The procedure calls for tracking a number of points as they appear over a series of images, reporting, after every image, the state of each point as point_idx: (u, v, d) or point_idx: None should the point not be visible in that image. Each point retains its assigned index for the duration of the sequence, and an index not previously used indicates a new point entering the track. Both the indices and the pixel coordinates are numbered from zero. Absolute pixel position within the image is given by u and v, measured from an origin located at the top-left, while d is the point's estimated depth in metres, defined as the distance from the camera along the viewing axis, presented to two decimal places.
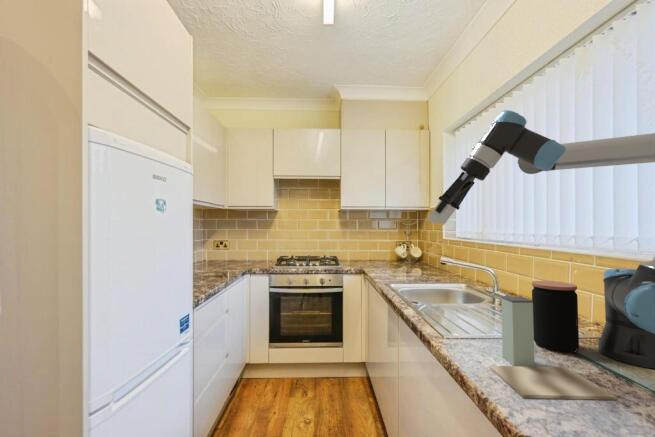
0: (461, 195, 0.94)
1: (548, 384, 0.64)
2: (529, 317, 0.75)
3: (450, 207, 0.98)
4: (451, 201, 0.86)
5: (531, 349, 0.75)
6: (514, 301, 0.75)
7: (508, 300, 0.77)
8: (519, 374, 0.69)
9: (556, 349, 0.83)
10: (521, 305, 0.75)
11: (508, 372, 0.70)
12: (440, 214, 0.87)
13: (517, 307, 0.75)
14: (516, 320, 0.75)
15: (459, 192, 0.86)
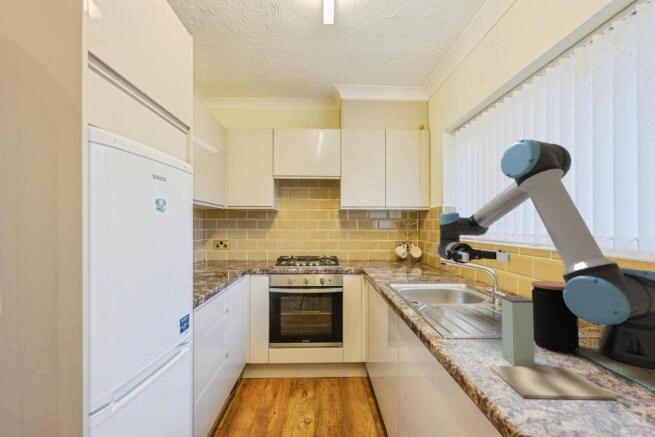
0: (482, 252, 1.03)
1: (548, 384, 0.64)
2: (529, 317, 0.75)
3: (497, 256, 0.98)
4: (457, 251, 1.00)
5: (531, 349, 0.75)
6: (514, 301, 0.75)
7: (508, 300, 0.77)
8: (519, 374, 0.69)
9: (556, 349, 0.83)
10: (521, 305, 0.75)
11: (508, 372, 0.70)
12: (462, 253, 0.96)
13: (517, 307, 0.75)
14: (516, 320, 0.75)
15: (457, 251, 1.04)
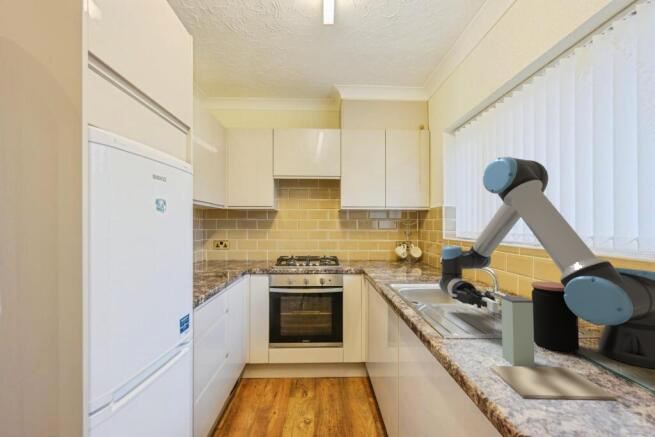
0: (477, 295, 1.00)
1: (548, 384, 0.64)
2: (529, 317, 0.75)
3: None
4: (478, 296, 0.96)
5: (531, 349, 0.75)
6: (514, 301, 0.75)
7: (508, 300, 0.77)
8: (519, 374, 0.69)
9: (556, 350, 0.83)
10: (521, 305, 0.75)
11: (508, 372, 0.70)
12: (487, 301, 0.91)
13: (517, 307, 0.75)
14: (516, 320, 0.75)
15: (470, 294, 1.00)
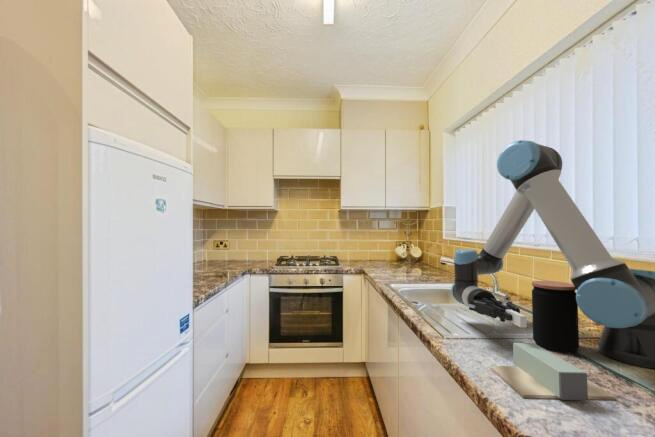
0: (499, 306, 0.87)
1: None
2: None
3: None
4: (500, 308, 0.83)
5: None
6: None
7: (559, 389, 0.59)
8: (519, 374, 0.69)
9: (556, 349, 0.83)
10: None
11: (508, 372, 0.70)
12: (512, 314, 0.78)
13: None
14: None
15: (491, 304, 0.86)
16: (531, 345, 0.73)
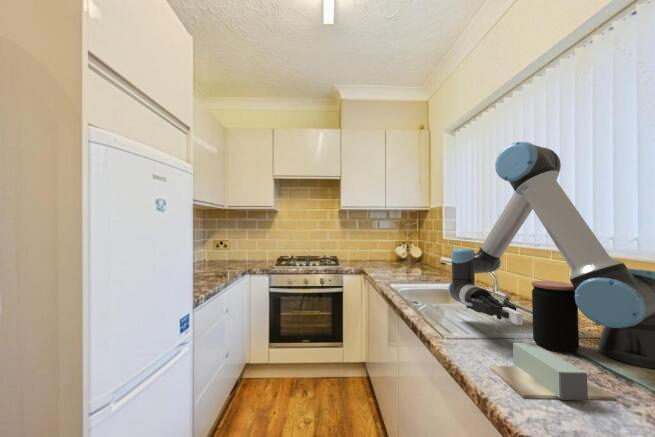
0: (495, 304, 0.88)
1: None
2: None
3: None
4: (497, 306, 0.84)
5: None
6: None
7: (559, 389, 0.59)
8: (519, 374, 0.69)
9: (556, 349, 0.83)
10: None
11: (508, 372, 0.70)
12: (509, 311, 0.79)
13: None
14: None
15: (488, 302, 0.88)
16: (531, 345, 0.73)
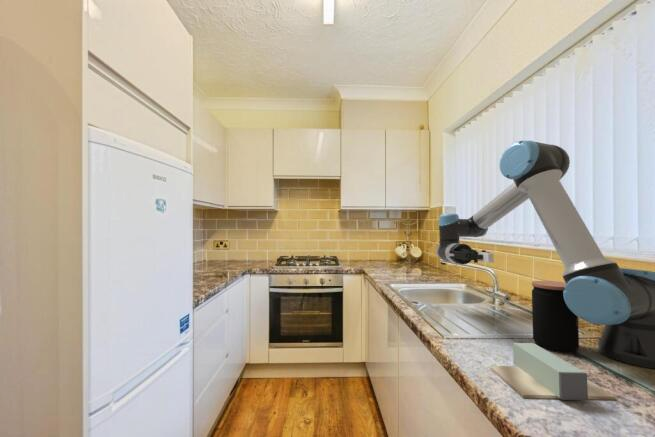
0: None
1: None
2: None
3: None
4: (474, 252, 0.99)
5: None
6: None
7: (559, 389, 0.59)
8: (519, 374, 0.69)
9: (556, 349, 0.83)
10: None
11: (508, 372, 0.70)
12: (483, 254, 0.93)
13: None
14: None
15: None
16: (531, 345, 0.73)
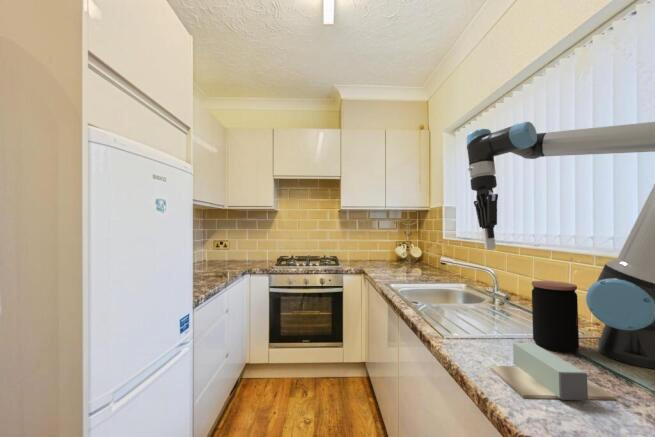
0: None
1: None
2: None
3: None
4: None
5: None
6: None
7: (559, 389, 0.59)
8: (519, 374, 0.69)
9: (556, 349, 0.83)
10: None
11: (508, 372, 0.70)
12: (493, 238, 0.97)
13: None
14: None
15: None
16: (531, 345, 0.73)
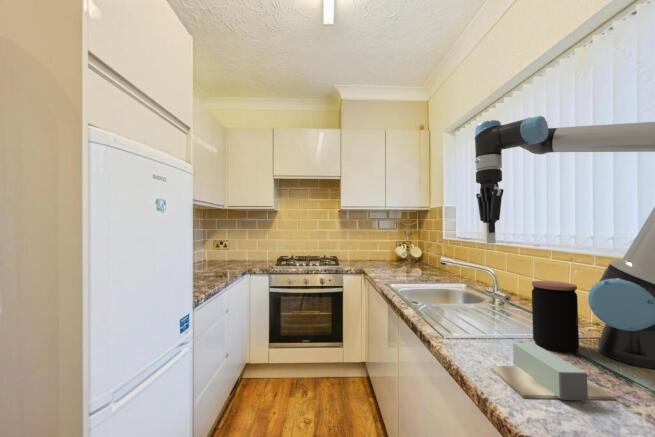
0: None
1: None
2: None
3: None
4: (494, 217, 0.96)
5: None
6: None
7: (559, 389, 0.59)
8: (519, 374, 0.69)
9: (556, 349, 0.83)
10: None
11: (508, 372, 0.70)
12: (494, 233, 0.96)
13: None
14: None
15: None
16: (531, 345, 0.73)
